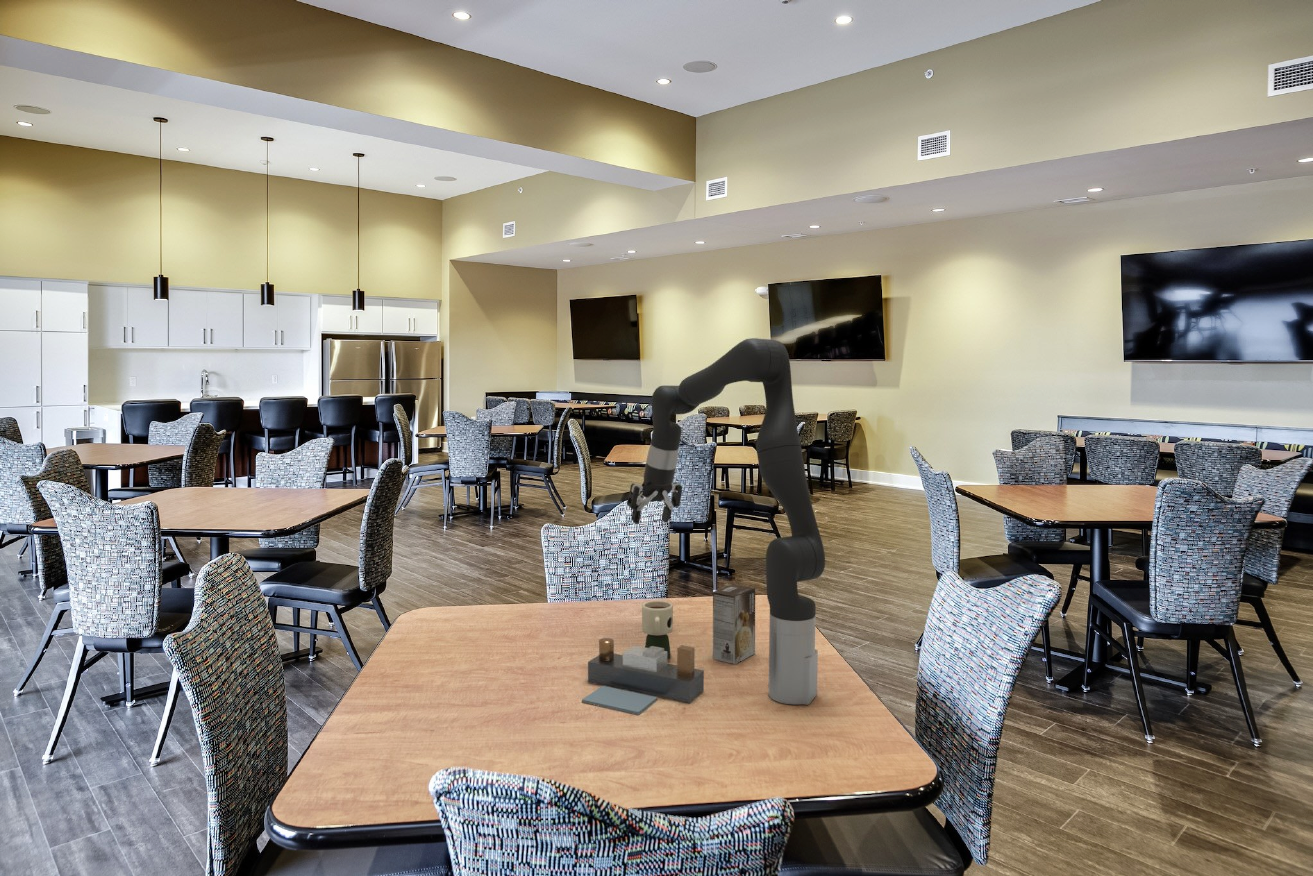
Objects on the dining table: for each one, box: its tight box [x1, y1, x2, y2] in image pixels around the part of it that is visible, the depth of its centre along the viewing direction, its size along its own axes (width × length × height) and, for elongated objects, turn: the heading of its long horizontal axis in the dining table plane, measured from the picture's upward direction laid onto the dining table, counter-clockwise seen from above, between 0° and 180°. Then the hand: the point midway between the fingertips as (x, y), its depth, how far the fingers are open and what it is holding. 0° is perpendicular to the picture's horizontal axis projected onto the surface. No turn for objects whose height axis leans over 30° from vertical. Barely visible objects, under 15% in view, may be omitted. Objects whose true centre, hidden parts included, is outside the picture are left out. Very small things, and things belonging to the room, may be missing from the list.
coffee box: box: [712, 583, 756, 665], centre depth 188 cm, size 9×6×16 cm
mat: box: [581, 685, 658, 716], centre depth 163 cm, size 13×8×1 cm, turn 63°
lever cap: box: [622, 645, 668, 673], centre depth 170 cm, size 8×5×4 cm, turn 63°
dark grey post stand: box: [587, 637, 705, 704], centre depth 170 cm, size 24×7×10 cm, turn 63°
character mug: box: [641, 600, 674, 661], centre depth 186 cm, size 11×7×13 cm, turn 179°
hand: (650, 522), depth 205 cm, fingers open, 8 cm apart
